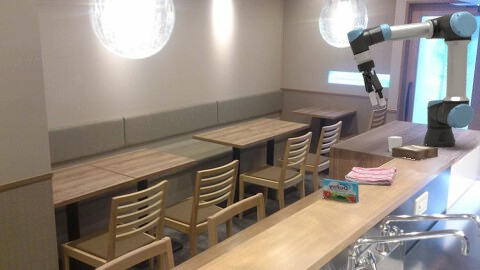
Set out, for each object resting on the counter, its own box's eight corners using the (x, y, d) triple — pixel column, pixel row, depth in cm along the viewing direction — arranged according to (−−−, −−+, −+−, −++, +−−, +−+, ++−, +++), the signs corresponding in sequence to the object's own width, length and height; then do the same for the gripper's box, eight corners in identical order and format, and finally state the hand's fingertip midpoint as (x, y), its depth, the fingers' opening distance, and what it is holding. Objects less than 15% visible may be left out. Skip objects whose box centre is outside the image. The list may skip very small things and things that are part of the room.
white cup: (399, 152, 222) (399, 138, 221) (385, 151, 226) (385, 137, 225) (404, 150, 227) (404, 136, 226) (390, 149, 232) (390, 135, 231)
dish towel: (343, 184, 170) (343, 175, 170) (354, 171, 192) (354, 162, 191) (391, 187, 164) (391, 177, 163) (397, 172, 185) (397, 164, 184)
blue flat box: (323, 197, 154) (322, 179, 153) (325, 196, 155) (324, 178, 154) (356, 203, 146) (356, 184, 145) (358, 201, 147) (358, 182, 146)
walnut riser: (412, 152, 221) (412, 144, 221) (437, 156, 209) (437, 147, 209) (391, 156, 215) (391, 147, 214) (416, 160, 202) (416, 151, 202)
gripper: (350, 66, 225) (364, 107, 227) (363, 62, 200) (379, 108, 202) (365, 61, 225) (379, 102, 226) (380, 56, 200) (395, 102, 202)
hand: (379, 105), depth 214 cm, fingers open, 13 cm apart
